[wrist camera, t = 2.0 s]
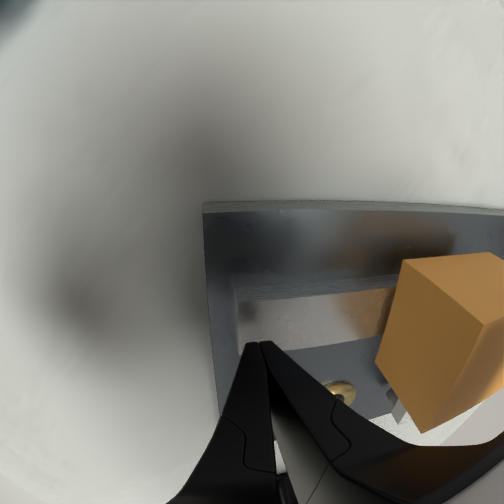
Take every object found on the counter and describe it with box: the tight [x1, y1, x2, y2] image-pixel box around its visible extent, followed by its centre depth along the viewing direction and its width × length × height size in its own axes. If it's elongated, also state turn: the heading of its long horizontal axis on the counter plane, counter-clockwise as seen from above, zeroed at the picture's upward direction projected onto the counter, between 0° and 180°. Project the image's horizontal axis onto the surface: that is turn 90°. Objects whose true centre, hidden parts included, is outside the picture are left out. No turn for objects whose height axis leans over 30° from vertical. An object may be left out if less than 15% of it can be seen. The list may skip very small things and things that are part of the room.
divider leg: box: [375, 252, 504, 434], centre depth 10 cm, size 10×6×5 cm, turn 0°
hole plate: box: [203, 201, 504, 441], centre depth 12 cm, size 14×30×7 cm, turn 90°
